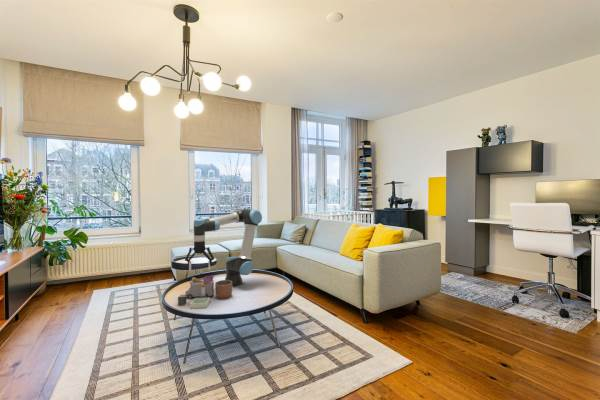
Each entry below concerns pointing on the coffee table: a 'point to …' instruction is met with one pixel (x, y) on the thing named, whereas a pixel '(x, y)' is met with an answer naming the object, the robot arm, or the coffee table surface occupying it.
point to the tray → (200, 303)
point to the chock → (182, 300)
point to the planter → (223, 289)
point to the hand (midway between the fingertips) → (199, 270)
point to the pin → (203, 290)
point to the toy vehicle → (196, 287)
